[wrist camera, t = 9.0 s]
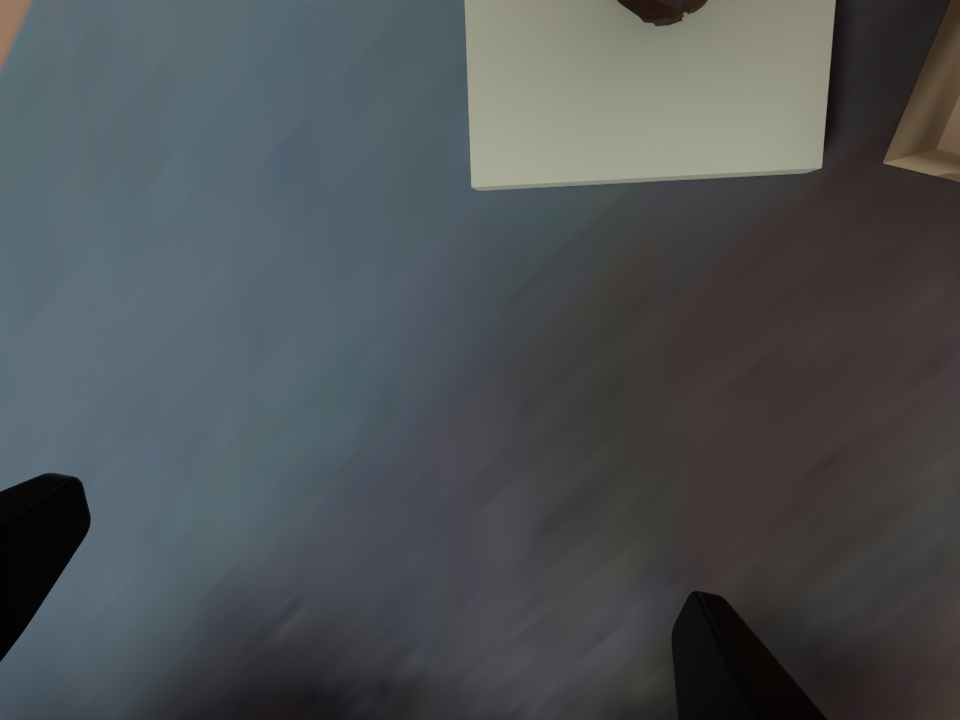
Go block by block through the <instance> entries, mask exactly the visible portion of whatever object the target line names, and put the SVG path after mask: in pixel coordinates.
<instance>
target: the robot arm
mask: <svg viewBox="0 0 960 720" xmlns="http://www.w3.org/2000/svg"><path fill="white" fill-rule="evenodd" d="M90 522H91V517H90V512H89V508H88V504H87V500H86V496H85V492H84V488H83V484H82V482H81V481H80V480H79V479H78V478H76V477H73V476H68V475H62V474H57V473H47V474H43V475H40V476H38V477H35V478H33V479H30V480H28V481H25V482H23V483H20V484H18V485H15V486H13V487H10V488H8V489H5V490H3V491H0V662H1V660H2V659H3V658H4V657H5V655H6V654H7V653H8V651H9V650H10V649H11V647H12V646H13V645H14V643H15V642H16V641H17V639H18V638H19V637H20V635H21V634H22V633H23V631H24V630H25V628H26V627H27V625H28V624H29V622H30V621H31V620H32V618H33V617H34V615H35V614H36V612H37V610H38V609H39V607H40V606H41V604H42V603H43V601H44V600H45V598H46V597H47V595H48V593H49V592H50V590H51V589H52V587H53V586H54V584H55V583H56V581H57V580H58V578H59V576H60V575H61V573H62V572H63V570H64V569H65V567H66V566H67V564H68V563H69V561H70V559H71V558H72V556H73V555H74V553H75V552H76V550H77V549H78V547H79V546H80V544H81V542H82V541H83V539H84V538H85V536H86V534H87V532H88V530H89V527H90ZM671 641H672V654H673V665H674V677H675V688H676V700H677V711H678V720H828V719H827V718H826V717H825V716H824V715H823V714H822V712H821V711H820V710H819V709H818V708H817V706H816V705H815V704H814V703H813V702H812V701H811V699H810V698H809V697H808V696H807V695H806V694H805V692H804V691H803V690H802V689H801V688H800V686H799V685H798V684H797V683H796V682H795V681H794V679H793V678H792V677H791V676H790V675H789V674H788V672H787V671H786V670H785V669H784V668H783V666H782V665H781V664H780V663H779V662H778V661H777V659H776V658H775V657H774V656H773V655H772V654H771V652H770V651H769V650H768V649H767V648H766V646H765V645H764V644H763V643H762V642H761V641H760V639H759V638H758V637H757V636H756V635H755V634H754V632H753V631H752V630H751V629H750V628H749V626H748V625H747V624H746V623H745V622H744V621H743V619H742V618H741V617H740V616H739V615H738V614H737V612H736V611H735V610H734V609H733V608H732V606H731V605H730V604H729V603H728V602H727V601H726V600H725V599H724V598H723V597H721V596H719V595H716V594H711V593H706V592H700V591H694V592H692V593H691V594H690V595H689V596H688V598H687V600H686V602H685V604H684V606H683V608H682V610H681V612H680V614H679V616H678V618H677V620H676V622H675V624H674V626H673V630H672V640H671Z"/></svg>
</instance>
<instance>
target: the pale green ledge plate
mask: <svg viewBox="0 0 960 720" xmlns="http://www.w3.org/2000/svg"><path fill="white" fill-rule="evenodd" d="M835 3H836V0H708V1H707V2H706V4H705V5H704V6H703V7H701V8H700V9H699V10H697V11H696V12H694V13H690V14H688V13H686V12H684V13H683V15H684V17H683V18H682V20H683V21H680V22H677V23H675V24H672V25H667V26H657V27H656V26H655V25H654V24H653V23H644V22H643V21H642V20H641V19H640V18H639V17H638V16H637V15H636V14H634V13H633V12H631V11H630V10H628V9H627V8H625V7H624V6H623V5H621V4H620V3H619V2H618V1H617V0H465V22H466V49H467V76H468V103H469V130H470V157H471V184H472V188H474V189H476V190H477V191H486V190H504V189H523V188H541V187H560V186H578V185H597V184H615V183H634V182H652V181H671V180H689V179H708V178H726V177H745V176H764V175H782V174H801V173H807V172H810V171H814V170H817V169H820V168H822V159H823V147H824V135H825V123H826V111H827V99H828V87H829V75H830V63H831V51H832V39H833V27H834V15H835Z"/></svg>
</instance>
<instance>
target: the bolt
mask: <svg viewBox="0 0 960 720" xmlns="http://www.w3.org/2000/svg"><path fill="white" fill-rule="evenodd" d="M617 1H618V2H619V3H620V4H621V5H623V6H624V7H625V8H627V9H628V10H630V11H631V12H633V13H634V14H636V15H637V16H638V17H639V18H640V19H641V20H642V21H643V22H644V23H653V24H654V25H655V26H656V27H657V26H667V25H672V24H675V23H677V22H680V21H683V20H682V18H683V17H684V15H683V13H684V12H686V13H688V14H690V13H694V12H696V11H697V10H699V9H700V8H701V7H703V6H704V5H705V4H706V2H707V1H708V0H617Z"/></svg>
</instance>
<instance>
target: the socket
mask: <svg viewBox="0 0 960 720" xmlns="http://www.w3.org/2000/svg"><path fill="white" fill-rule="evenodd" d="M883 163H884V164H888V165H892V166H896V167H901V168H905V169H909V170H913V171H917V172H921V173H925V174H930V175H934V176H938V177H942V178H946V179H950V180H954V181H959V182H960V0H951V1H950V3H949V6H948V8H947V10H946V13H945V15H944V18H943V20H942V22H941V25H940V27H939V29H938V32H937V34H936V37H935V39H934V41H933V44H932V46H931V49H930V51H929V53H928V56H927V58H926V61H925V63H924V65H923V68H922V70H921V72H920V75H919V77H918V80H917V82H916V84H915V87H914V89H913V92H912V94H911V96H910V99H909V101H908V104H907V106H906V108H905V111H904V113H903V115H902V118H901V120H900V123H899V125H898V127H897V130H896V132H895V135H894V137H893V139H892V142H891V144H890V146H889V149H888V151H887V154H886V156H885V158H884V161H883Z"/></svg>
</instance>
